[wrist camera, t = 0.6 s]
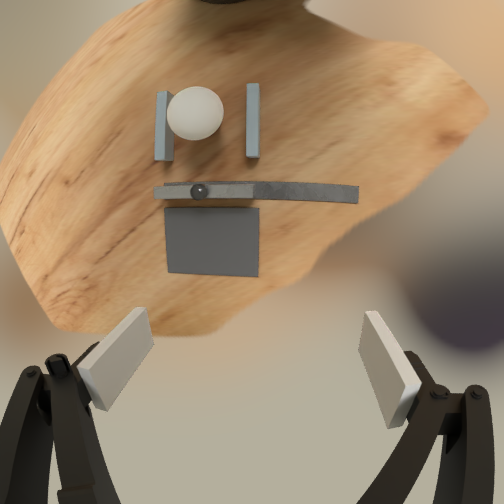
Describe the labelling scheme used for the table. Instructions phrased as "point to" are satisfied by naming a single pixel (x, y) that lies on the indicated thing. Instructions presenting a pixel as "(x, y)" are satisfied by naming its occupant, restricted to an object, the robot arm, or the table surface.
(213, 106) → the light bulb
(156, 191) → the latch bar
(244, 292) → the table surface
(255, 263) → the mat
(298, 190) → the track
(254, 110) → the channel
